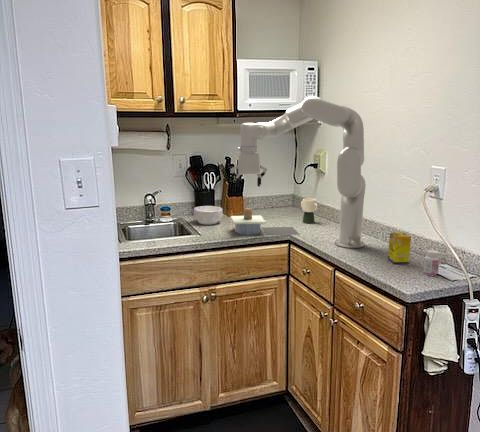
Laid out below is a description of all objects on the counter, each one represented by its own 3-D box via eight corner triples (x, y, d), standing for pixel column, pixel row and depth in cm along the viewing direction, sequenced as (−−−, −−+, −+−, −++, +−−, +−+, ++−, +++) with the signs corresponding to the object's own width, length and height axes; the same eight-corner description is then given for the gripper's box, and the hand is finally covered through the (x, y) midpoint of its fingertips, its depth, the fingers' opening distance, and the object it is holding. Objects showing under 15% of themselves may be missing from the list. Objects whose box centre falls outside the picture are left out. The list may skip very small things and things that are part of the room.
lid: (265, 223, 210) (266, 211, 209) (233, 224, 208) (233, 211, 207) (260, 217, 225) (261, 205, 223) (230, 217, 223) (230, 205, 222)
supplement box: (387, 259, 177) (389, 232, 174) (402, 259, 177) (404, 232, 175) (393, 264, 171) (395, 236, 169) (408, 264, 171) (411, 236, 169)
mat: (300, 235, 213) (300, 234, 212) (266, 236, 211) (266, 235, 211) (292, 228, 228) (292, 226, 228) (261, 228, 226) (261, 227, 226)
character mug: (320, 224, 238) (322, 199, 235) (312, 226, 233) (313, 201, 230) (304, 220, 245) (305, 197, 243) (296, 222, 241) (297, 198, 238)
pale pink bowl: (222, 226, 231) (222, 211, 229) (192, 226, 230) (192, 210, 229) (223, 220, 246) (223, 205, 244) (195, 219, 245) (194, 205, 244)
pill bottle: (433, 277, 157) (435, 254, 155) (420, 273, 160) (422, 250, 159) (440, 274, 159) (443, 251, 158) (428, 271, 163) (430, 248, 161)
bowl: (261, 235, 212) (262, 223, 211) (236, 235, 211) (236, 223, 210) (257, 229, 224) (258, 217, 223) (233, 229, 223) (234, 218, 222)
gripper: (230, 150, 205) (231, 187, 208) (268, 150, 207) (267, 187, 210) (229, 149, 212) (229, 185, 216) (265, 149, 214) (265, 185, 218)
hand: (248, 186), depth 213 cm, fingers open, 9 cm apart
